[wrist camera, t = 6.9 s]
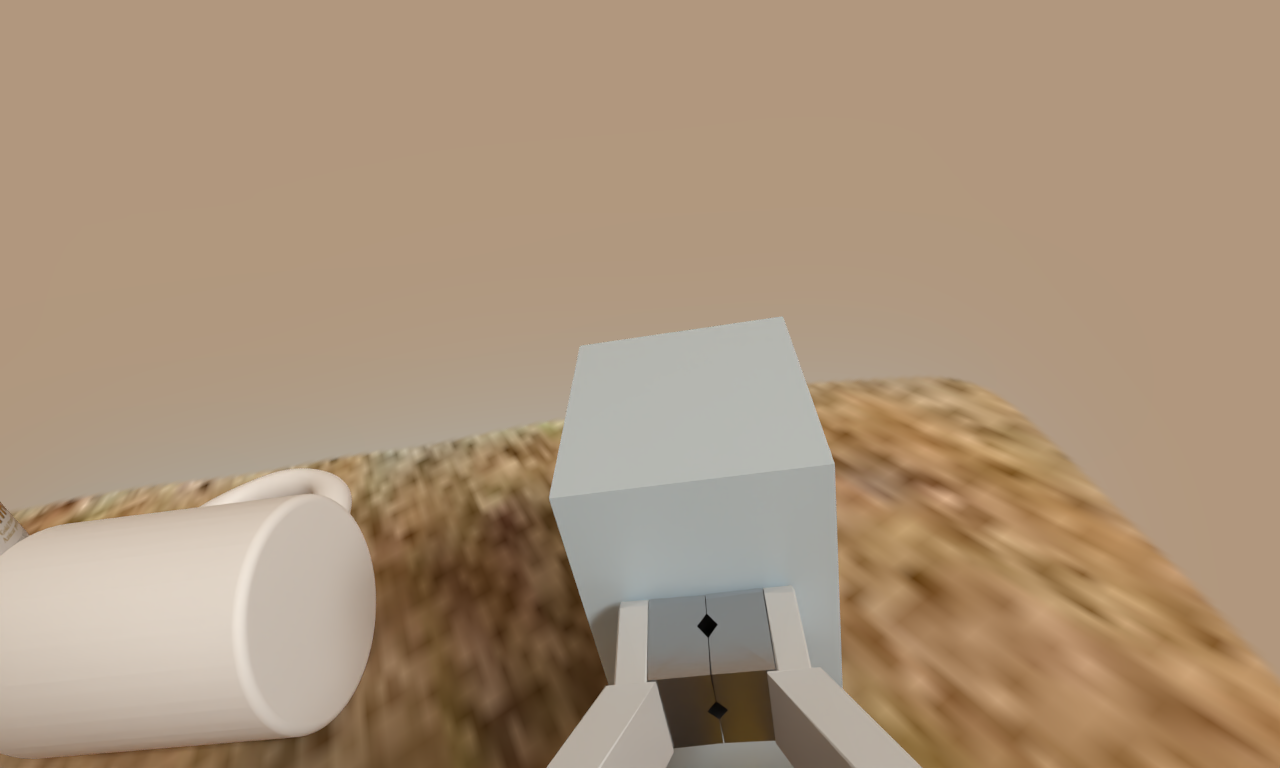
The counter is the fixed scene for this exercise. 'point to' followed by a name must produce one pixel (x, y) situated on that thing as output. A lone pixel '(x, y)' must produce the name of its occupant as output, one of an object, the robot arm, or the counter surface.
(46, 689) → the mug
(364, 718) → the counter surface
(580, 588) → the box sleeve
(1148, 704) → the counter surface
